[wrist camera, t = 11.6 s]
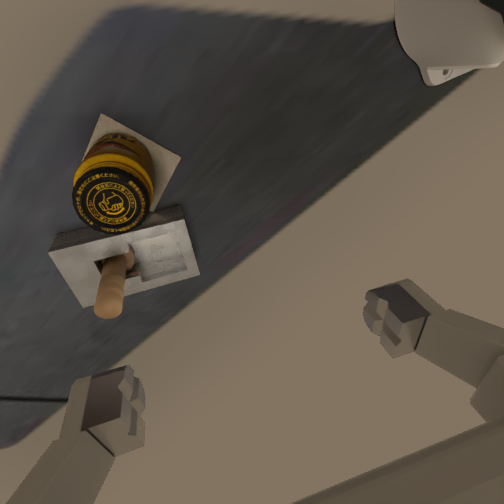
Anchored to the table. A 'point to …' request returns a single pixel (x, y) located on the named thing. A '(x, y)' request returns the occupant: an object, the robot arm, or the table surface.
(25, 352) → the table surface
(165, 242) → the keyhole plate
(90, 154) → the condiment
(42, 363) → the table surface
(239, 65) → the table surface
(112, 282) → the peg
